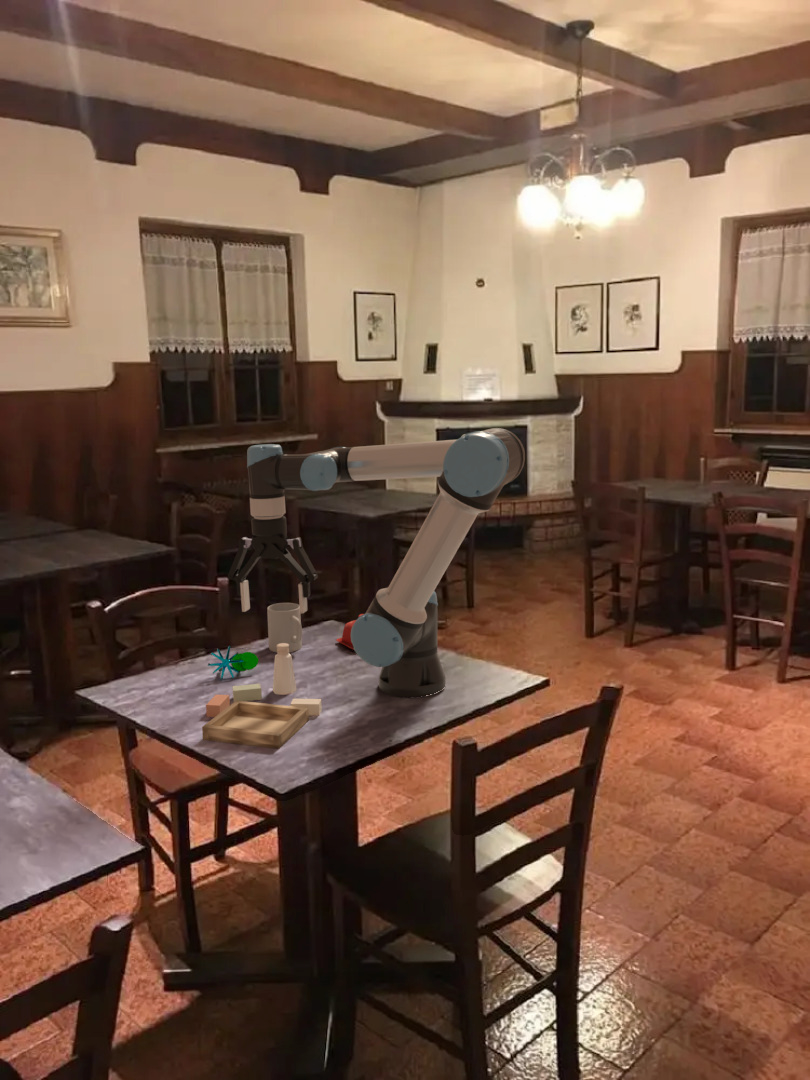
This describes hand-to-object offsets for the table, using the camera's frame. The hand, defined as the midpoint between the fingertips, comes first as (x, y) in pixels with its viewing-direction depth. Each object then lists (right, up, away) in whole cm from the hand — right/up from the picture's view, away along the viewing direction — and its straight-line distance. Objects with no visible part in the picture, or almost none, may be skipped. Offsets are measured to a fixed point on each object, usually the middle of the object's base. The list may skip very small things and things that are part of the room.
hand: (274, 611), depth 200 cm
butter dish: (+18, -12, +36) cm, 42 cm away
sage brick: (-6, -20, -1) cm, 20 cm away
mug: (-1, -13, +33) cm, 36 cm away
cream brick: (+8, -21, -10) cm, 25 cm away
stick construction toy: (-12, -18, +13) cm, 25 cm away
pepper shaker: (+2, -19, +4) cm, 19 cm away
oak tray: (-1, -23, -18) cm, 29 cm away
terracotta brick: (-11, -21, -8) cm, 25 cm away
